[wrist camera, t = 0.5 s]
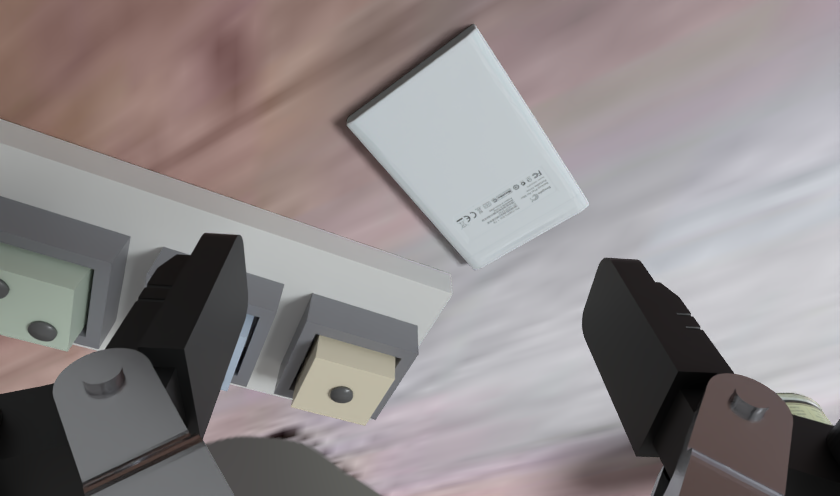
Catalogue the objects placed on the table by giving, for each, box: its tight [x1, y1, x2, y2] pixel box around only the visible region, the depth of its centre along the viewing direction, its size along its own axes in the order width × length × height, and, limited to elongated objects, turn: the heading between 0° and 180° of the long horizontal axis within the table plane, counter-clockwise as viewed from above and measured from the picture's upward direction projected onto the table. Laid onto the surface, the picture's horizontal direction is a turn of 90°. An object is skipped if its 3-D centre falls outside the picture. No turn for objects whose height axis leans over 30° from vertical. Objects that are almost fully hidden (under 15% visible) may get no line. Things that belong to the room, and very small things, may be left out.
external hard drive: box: [346, 24, 589, 270], centre depth 30 cm, size 2×8×12 cm
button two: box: [0, 242, 94, 351], centre depth 30 cm, size 5×5×3 cm
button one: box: [291, 334, 395, 426], centre depth 34 cm, size 5×5×3 cm
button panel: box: [0, 119, 453, 420], centre depth 34 cm, size 14×27×4 cm, turn 65°
